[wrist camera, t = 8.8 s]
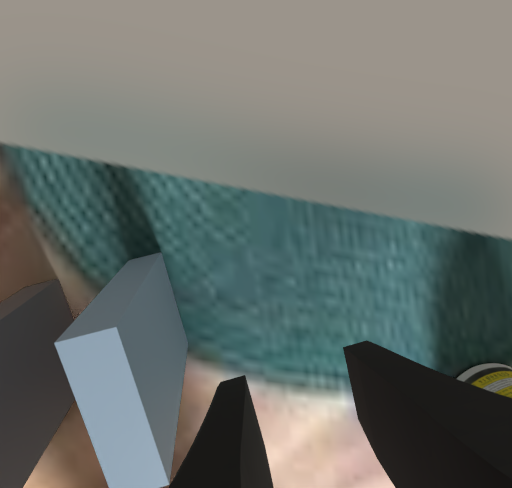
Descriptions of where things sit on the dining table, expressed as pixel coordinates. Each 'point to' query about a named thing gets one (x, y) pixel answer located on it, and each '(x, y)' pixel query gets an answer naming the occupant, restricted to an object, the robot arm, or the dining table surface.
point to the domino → (31, 377)
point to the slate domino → (129, 373)
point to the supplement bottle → (490, 378)
